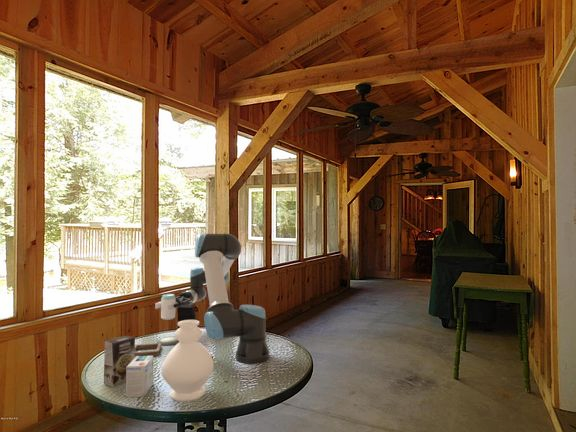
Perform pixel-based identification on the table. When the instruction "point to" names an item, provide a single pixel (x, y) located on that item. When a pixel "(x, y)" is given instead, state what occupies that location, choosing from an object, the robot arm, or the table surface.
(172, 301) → the can
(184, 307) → the portable radio
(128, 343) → the coffee box
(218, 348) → the table surface
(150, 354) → the frame
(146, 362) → the light bulb box
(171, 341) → the dock pad
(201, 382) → the decorative vase
